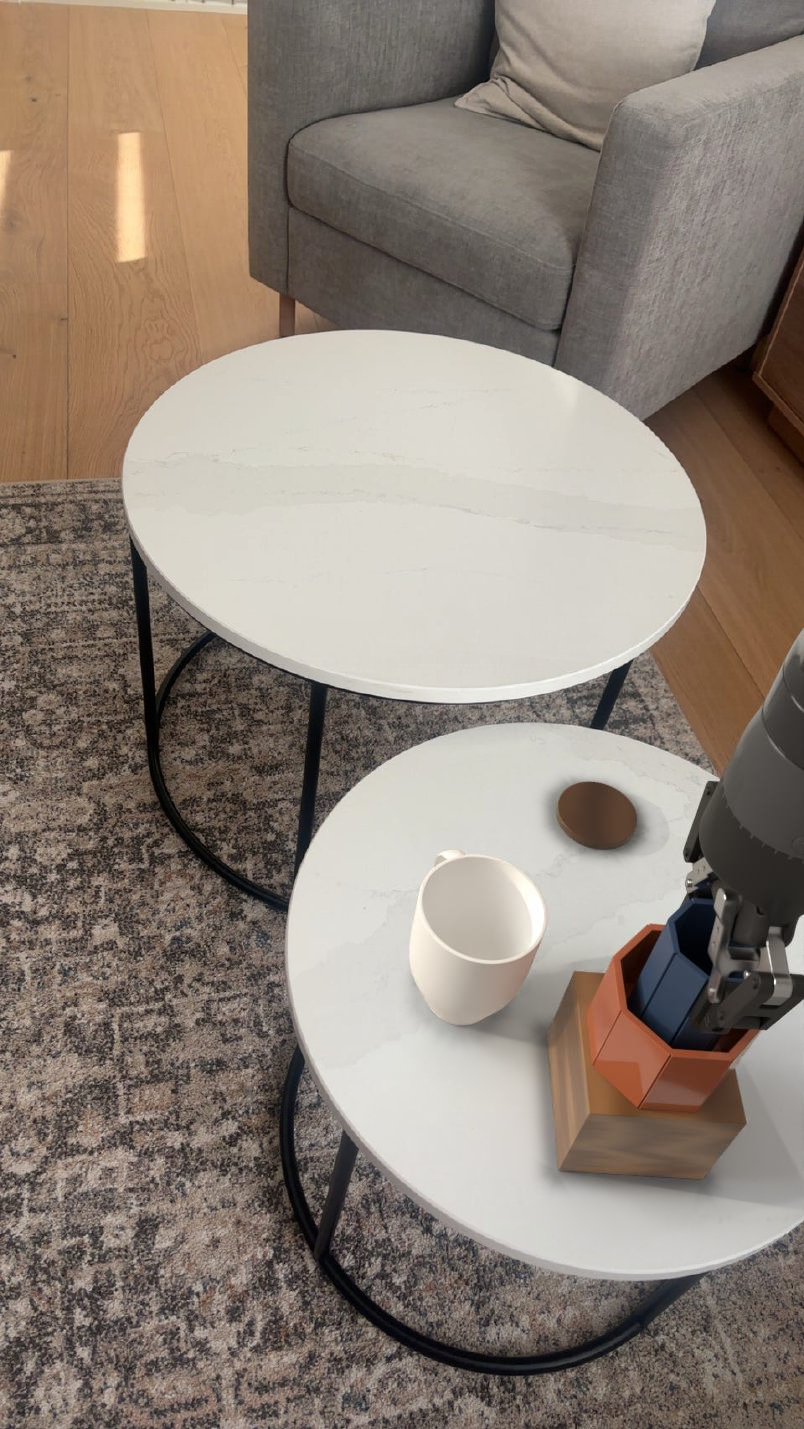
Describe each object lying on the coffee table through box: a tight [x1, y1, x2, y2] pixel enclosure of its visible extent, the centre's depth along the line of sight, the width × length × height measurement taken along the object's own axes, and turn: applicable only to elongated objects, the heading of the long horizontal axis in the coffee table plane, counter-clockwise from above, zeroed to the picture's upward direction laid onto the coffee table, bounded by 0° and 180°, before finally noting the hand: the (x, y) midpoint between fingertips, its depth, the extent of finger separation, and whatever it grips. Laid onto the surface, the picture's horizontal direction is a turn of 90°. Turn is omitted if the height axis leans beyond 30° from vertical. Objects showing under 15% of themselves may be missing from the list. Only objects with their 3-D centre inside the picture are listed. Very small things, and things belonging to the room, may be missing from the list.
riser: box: [546, 970, 747, 1180], centre depth 74 cm, size 10×10×9 cm
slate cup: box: [627, 898, 754, 1052], centre depth 66 cm, size 6×6×11 cm
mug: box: [408, 849, 548, 1026], centre depth 78 cm, size 12×9×12 cm
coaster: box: [555, 781, 638, 851], centre depth 95 cm, size 7×7×1 cm
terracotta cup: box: [586, 923, 763, 1112], centre depth 68 cm, size 9×9×7 cm
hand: (697, 976), depth 65 cm, fingers closed on slate cup, 5 cm apart
